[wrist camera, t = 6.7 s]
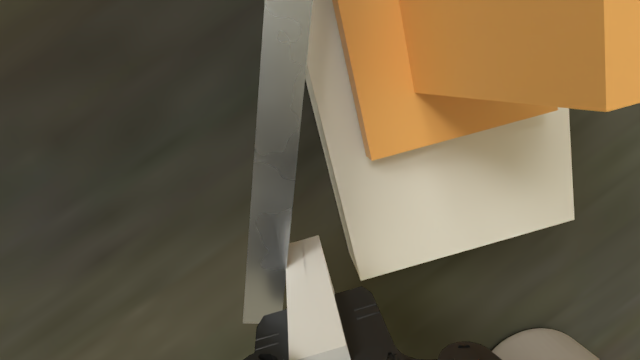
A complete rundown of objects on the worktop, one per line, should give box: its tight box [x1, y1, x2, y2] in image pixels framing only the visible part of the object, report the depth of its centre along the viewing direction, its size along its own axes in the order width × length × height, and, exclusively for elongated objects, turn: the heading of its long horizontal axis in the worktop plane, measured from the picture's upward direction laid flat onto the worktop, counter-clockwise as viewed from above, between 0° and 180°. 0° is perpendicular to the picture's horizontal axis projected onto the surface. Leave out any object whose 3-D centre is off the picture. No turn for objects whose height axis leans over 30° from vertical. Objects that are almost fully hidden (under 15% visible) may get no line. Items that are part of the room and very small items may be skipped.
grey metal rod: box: [243, 0, 313, 324], centre depth 12 cm, size 21×3×2 cm, turn 174°
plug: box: [332, 0, 640, 161], centre depth 12 cm, size 8×9×13 cm
